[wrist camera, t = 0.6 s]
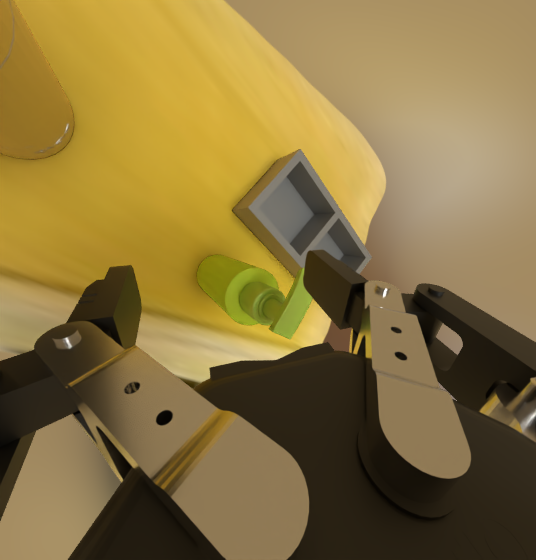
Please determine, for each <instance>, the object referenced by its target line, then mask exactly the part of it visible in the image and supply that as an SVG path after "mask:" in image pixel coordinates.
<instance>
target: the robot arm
mask: <svg viewBox="0 0 536 560" xmlns="http://www.w3.org/2000/svg"><path fill="white" fill-rule="evenodd" d="M73 129H74V116H73V111H72V108H71V105H70V102H69V100H68V98H67V97H66V95H65V93H64V91H63V89H62V87H61V85H60V84H59V82H58V80H57V78H56V76H55V74H54V72H53V70H52V69H51V67H50V65H49V63H48V61H47V60H46V58H45V56H44V54H43V52H42V51H41V49H40V47H39V45H38V43H37V41H36V40H35V38H34V36H33V34H32V32H31V31H30V29H29V27H28V25H27V23H26V22H25V20H24V18H23V16H22V14H21V13H20V11H19V9H18V7H17V5H16V4H15V2H14V0H0V153H1V154H4V155H6V156H11V157H15V158H20V159H39V158H45V157H48V156H51V155H54V154H56V153H57V152H59V151H60V150H62V149H63V148H64V147H65V146H66V145H67V143H68V142H69V141H70V138H71V136H72V134H73ZM303 284H304V287H305V289H306V291H307V292H308V293H309V294H310V295H311V296H312V298H313V299H314V300H315V301H316V302H317V303H318V304H319V306H320V307H321V308H322V309H323V310H324V311H325V313H326V314H327V315H328V316H329V317H330V318H331V320H332V321H333V322H334V323H335V324H336V325H337V326H338V328H339V329H345V328H350V327H352V332H351V336H350V351H349V352H344V351H334V349H333V348H332V347H331V345H330V344H329V343H328V342H327V343H322V344H318V345H313V346H308V347H304V348H301V349H299V350H297V351H295V352H293V353H290V354H288V355H286V356H284V357H282V358H280V359H278V360H264V361H238V362H234V363H229V364H225V365H220V366H215V367H211V368H210V379H208V380H206V381H204V382H202V383H201V384H199V385H197V386H196V387H194V388H193V389H192V388H190V387H189V386H188V385H187V384H185V383H184V382H183V381H181V380H180V379H179V378H178V377H176V376H175V375H174V374H172V373H171V372H170V371H168V370H167V369H166V368H165V367H163V366H162V365H161V364H159V363H158V362H157V361H155V360H154V359H153V358H152V357H150V356H149V355H148V354H146V353H145V352H144V351H142V350H141V349H140V348H138V347H137V346H135V343H136V338H137V332H138V327H139V321H140V316H141V298H140V294H139V290H138V286H137V282H136V278H135V274H134V270H133V267H132V266H131V265H128V266H116V267H110V268H109V270H108V272H107V275H106V277H105V279H104V280H96V281H95V282H93V283H92V284H91V285H89V286H88V287H87V288H86V289H85V291H84V293H83V295H82V297H81V298H80V300H79V302H78V304H77V305H76V307H75V309H74V310H73V312H72V314H71V315H70V317H69V319H68V321H67V322H66V324H62V325H60V326H57V327H55V328H53V329H51V330H49V331H47V332H46V333H44V334H43V335H42V336H41V337H40V338H39V339H38V340H37V341H36V343H35V346H34V350H32V351H29V352H26V353H23V354H20V355H17V356H14V357H11V358H8V359H5V360H2V361H0V521H1V518H2V516H3V513H4V510H5V508H6V505H7V503H8V500H9V498H10V495H11V493H12V490H13V488H14V485H15V483H16V480H17V477H18V475H19V473H20V470H21V468H22V465H23V462H24V460H25V458H26V455H27V453H28V450H29V447H30V445H31V442H32V440H33V437H34V435H35V432H36V430H38V429H40V428H43V427H45V426H47V425H49V424H51V423H53V422H55V421H57V420H60V419H62V418H64V417H66V416H68V415H70V414H71V415H72V416H73V417H74V419H75V420H76V421H77V423H78V424H79V425H80V426H81V428H82V429H83V430H84V432H85V433H86V434H87V436H88V437H89V438H90V439H91V441H92V442H93V443H94V444H95V446H96V447H97V448H98V450H99V451H100V452H101V453H102V455H103V456H104V458H105V459H106V461H107V462H108V464H109V465H110V467H111V469H112V470H113V471H114V473H115V474H116V476H117V477H118V478H119V480H120V481H121V482H122V483H121V484H120V486H119V487H118V488H117V490H116V491H115V493H114V494H113V496H112V497H111V499H110V500H109V501H108V503H107V504H106V506H105V507H104V509H103V510H102V511H101V513H100V514H99V516H98V517H97V518H96V520H95V521H94V523H93V524H92V526H91V527H90V528H89V530H88V531H87V533H86V534H85V536H84V537H83V538H82V540H81V541H80V543H79V544H78V546H77V547H76V548H75V550H74V551H73V553H72V554H71V556H70V557H69V558H68V560H536V342H534V341H532V340H531V339H529V338H527V337H526V336H524V335H522V334H520V333H519V332H517V331H516V330H514V329H512V328H511V327H509V326H507V325H506V324H504V323H502V322H501V321H499V320H497V319H495V318H494V317H492V316H491V315H489V314H487V313H485V312H484V311H482V310H481V309H479V308H477V307H476V306H474V305H472V304H471V303H469V302H467V301H465V300H464V299H462V298H460V297H459V296H457V295H455V294H454V293H452V292H450V291H449V290H447V289H445V288H443V287H440V286H437V285H432V284H419V285H417V287H416V290H415V292H414V294H402V293H401V292H400V290H399V289H398V288H397V287H395V286H393V285H391V284H389V283H386V282H383V281H368V280H366V279H365V278H364V277H362V276H361V275H360V274H358V273H357V272H356V271H354V270H353V269H352V268H350V267H348V266H347V265H346V264H345V263H343V262H342V261H340V260H337V259H336V258H334V257H333V256H332V255H330V254H329V253H328V252H326V251H325V250H323V249H322V250H310V251H308V252H307V255H306V261H305V268H304V275H303ZM442 323H444V324H445V325H446V326H448V327H449V328H451V329H452V330H453V331H455V332H456V333H457V334H458V335H459V336H460V337H461V339H462V341H463V347H462V349H461V351H460V353H459V354H458V355H457V354H455V353H454V352H453V351H452V350H450V349H449V348H448V347H447V346H445V345H444V344H443V343H442V342H441V341H439V340H438V339H437V338H436V335H437V333H438V331H439V329H440V327H441V325H442ZM438 382H439V383H440V384H441V385H442V386H443V387H444V388H445V389H446V390H447V391H448V392H449V393H450V394H451V395H452V396H453V397H454V398H455V399H456V400H457V401H456V400H454V399H452V398H451V396H450V394H449V393H448V392H447V391H445V390H443V389H441V388H440V387H439V384H438Z"/></svg>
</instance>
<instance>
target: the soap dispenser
mask: <svg viewBox="0 0 536 560" xmlns="http://www.w3.org/2000/svg"><path fill="white" fill-rule="evenodd" d="M303 275H304V267H303V268H301V269H300V270H299V271H298V272H297V275H296V278H295V280H294V283H293V285H292V287H291V289H290V291H289V293H288V295H287V297H286V299H285V296H284V295H283V293H282V292H281V291H279V287H278V284H277V281H276V280H275V278H274V277H273V275H272V274H271V273H269V272H268V271H266V270H264V269H261V268H258V267H255V266H252V265H249V264H246V263H243V262H241V261H238V260H235V259H232V258H229V257H226V256H223V255H212V256H209V257H207V258H206V259H204V260H203V261H202V262H201V264H200V265H199V267H198V270H197V281H198V284H199V286H200V287H201V288H202V289H203V290H204V291H205V292H206V293H207V294H208V295H209V296H210V297H211V298H212V299H213V300H214V301H215V302H216V303H217V304H218V305H219V306H220V307H221V308H222V309H223V310H224V311H225V312H226V313H227V314H228V315H229V316H230V317H231V318H232V319H233V320H234V321H236V322H238V323H240V324H243V325H255V324H258V323H259V324H262V325H271V326H270V328H269V329H270V330H271V331H272V332H274V333H277V334H279V335H281V336H283V337H286V338H288V339H291V338H292V336H293V334H294V333H295V331H296V329H297V328H298V326H299V324H300V322H301V321H302V319H303V317H304V315H305V313H306V312H307V310H308V308H309V305H310V303H311V301H312V299H313V298H312V296H311V295H310V294H309V293H308V292H307V291H306V289H305V287H304V284H303Z"/></svg>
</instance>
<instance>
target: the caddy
mask: <svg viewBox="0 0 536 560" xmlns="http://www.w3.org/2000/svg"><path fill="white" fill-rule="evenodd" d="M232 211H233V212H234V213H235V214H236V215H237V217H238V218H239V219H240V220H241V221H242V222H243V223H244V224H245V225H246V226H247V227H248V228H249V229H250V230H251V231H252V233H253V234H254V235H255V236H256V237H257V238H258V239H259V240H260V241H261V242H262V243H263V244H264V245H265V246H266V247H267V249H268V250H269V251H270V252H271V253H272V254H273V255H274V256H275V257H276V258H277V259H278V260H279V261H280V262H281V264H282V265H283V266H284V267H285V268H286V269H287V270H288V271H289V272H290V273H291V274H292V275H293V276H294V277H295V278H296V275H297V272H298V271H299V270H300V269H301V268H303V267H304V268H305V261H306V255H307V252H308V251H310V250H322V249H323V250H325V251H326V252H328V253H329V254H330V255H332V256H333V257H334V258H336V259H337V260H340V261H342V262H343V263H345V264H346V265H347V266H348V267H350V268H352V269H353V270H354V271H356V272H357V273H358V274H360V273H361V271H362V270H363V269H364V267H365V266H366V265H367V263H368V262H369V261H370V259H371V258H372V257H371V255H370V254H369V252H368V251H367V249H366V248H365V246H364V244H363V243H362V241H361V240H360V238H359V237H358V235H357V234H356V232H355V231H354V229H353V228H352V226H351V225H350V223H349V222H348V220H347V219H346V217H345V216H344V214H343V213H342V211H341V210H340V208H339V207H338V205H337V204H336V202H335V200H334V199H333V197H332V196H331V194H330V193H329V191H328V190H327V188H326V187H325V185H324V184H323V182H322V181H321V179H320V178H319V176H318V175H317V173H316V172H315V170H314V169H313V167H312V166H311V164H310V163H309V161H308V160H307V158H306V157H305V155H304V153H303V152H302V150H301V149H299V150H297V151H295V152H293V153H291V154H289V155H287V156H285V157H282V158H280V159H278V160H277V161H276V162H275V163H274V164H273V165H272V166H271V168H270V169H269V170H268V171H267V172H266V173H265V174H264V175H263V176H262V178H261V179H260V180H259V181H258V182H257V183H256V184H255V185H254V186H253V187H252V189H251V190H250V191H249V192H248V193H247V194H246V195H245V196H244V197H243V199H242V200H241V201H240V202H239V203H238V204H237V205H236V206H235V207H234V209H233V210H232Z"/></svg>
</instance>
